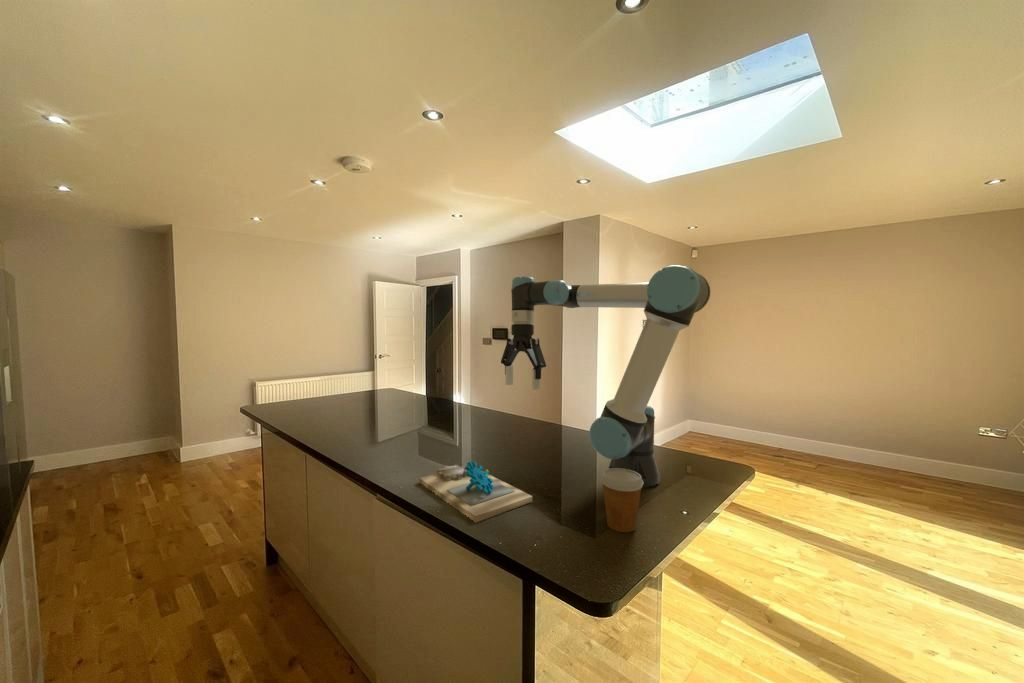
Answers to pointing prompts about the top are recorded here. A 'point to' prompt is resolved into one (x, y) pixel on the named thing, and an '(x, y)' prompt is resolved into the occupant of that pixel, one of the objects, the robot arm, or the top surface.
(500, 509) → the carrier board
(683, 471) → the top surface
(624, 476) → the disposable coffee cup
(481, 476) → the gear
